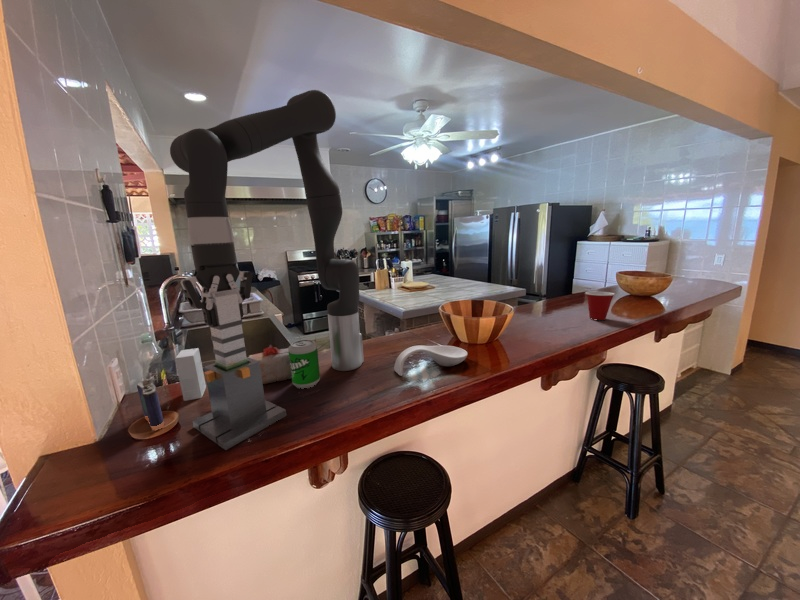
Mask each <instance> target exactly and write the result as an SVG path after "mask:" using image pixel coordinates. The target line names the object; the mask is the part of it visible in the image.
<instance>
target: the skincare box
mask: <svg viewBox="0 0 800 600" xmlns="http://www.w3.org/2000/svg"><path fill="white" fill-rule="evenodd" d="M201 359H202V358H201V353H200V349H199V347H197V348H196V347H195V348H189V349H181V350H180V351H179V353H178V354H177V356H175V358H174V360H175V366H176V369H177V375H178V376H177V377H178V380H179V384H180V390H181V395H182V399H183V401H184V402H187V401H192V400H196V399H201V398H203V395H204V393H205V391H206V389H207V383H206V381H205V379H204V367H203V363H202V360H201Z"/></svg>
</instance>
